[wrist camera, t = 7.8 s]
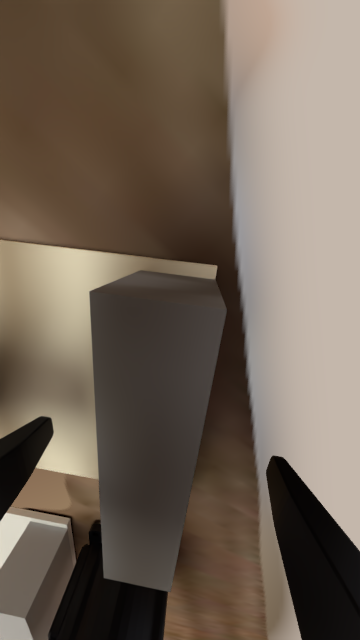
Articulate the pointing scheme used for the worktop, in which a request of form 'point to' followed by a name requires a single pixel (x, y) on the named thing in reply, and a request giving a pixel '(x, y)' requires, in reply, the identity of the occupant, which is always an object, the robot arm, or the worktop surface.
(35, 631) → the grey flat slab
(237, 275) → the worktop surface
